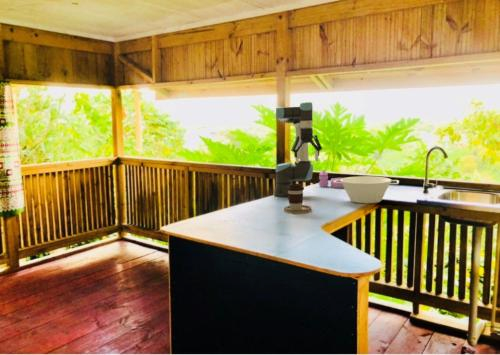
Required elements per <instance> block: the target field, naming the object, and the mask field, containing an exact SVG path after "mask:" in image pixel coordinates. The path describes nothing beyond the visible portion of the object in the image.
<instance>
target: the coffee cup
mask: <svg viewBox="0 0 500 355" xmlns="http://www.w3.org/2000/svg"><path fill="white" fill-rule="evenodd" d="M287 190H288V204H289V205H288V206H290V209H291V210H301V209H302V205H303V202H304V190H305V187H304V186H302V184H301V183H292V184H290V185H289V187H287Z"/></svg>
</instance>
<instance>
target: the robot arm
mask: <svg viewBox="0 0 500 355" xmlns="http://www.w3.org/2000/svg"><path fill="white" fill-rule="evenodd" d="M313 108H314V107H313V102H309V101H307V102H303V101H302V102H300V103H299V105H298V106H297V105H294V106H278V107H276V108H275V118H276V119H277V120H278V121H279V122H282V123H285V124H292V126H293V127H294V129H295V140H294V142H293V145H292V147H291V152H293V154H294V158H295V161H294V164H293V163H292V162H284V163H283V162H282V163H279V164H276V166H275V183H276V184H275V186H274V187H275V188H274V190H273V196H274V197H281V198H287V197H288V190H287V187H289V185H290V184H293V182H294V181H296V182H297V181H311V179H312V178H313V174H314V173H313V172H314V164H313V163H312V161H311V160H310V159H309V144H311V145H312V147H313V148H314V161H315V162H319V156H320V151H322V149H323V148H322V145H321V143H320V140H319V137H318V135H317V134H313V133H314V130H313ZM313 139H314V140H313ZM314 141H315V142H314Z"/></svg>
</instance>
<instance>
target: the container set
mask: <svg viewBox="0 0 500 355" xmlns="http://www.w3.org/2000/svg"><path fill="white" fill-rule="evenodd" d="M328 175H329V173H328V172H326V170H321V172H319V176H318V178H319V181H318V185H319V186H320V187H321V188H327V187H328V186H329V182H328V179H329V176H328ZM343 178H344V177H335V178H333V177H332V178H330V188H331V189H345V188H344V186H343V184H342V183H333V181H335V180H336V179H343ZM336 182H341V181H340V180H337V181H336Z"/></svg>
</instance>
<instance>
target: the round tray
mask: <svg viewBox="0 0 500 355" xmlns="http://www.w3.org/2000/svg"><path fill="white" fill-rule="evenodd" d="M283 211H284V212H285V213H288V214H294V215H295V214H307V213H311V212H312V211H313V209H312V206H310V205H307V204H302V209H301V210H291V209H290V206H289V205H286V206H284V208H283Z"/></svg>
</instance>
